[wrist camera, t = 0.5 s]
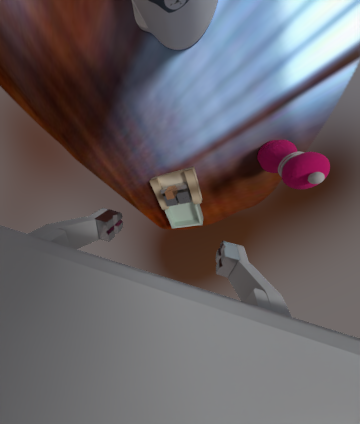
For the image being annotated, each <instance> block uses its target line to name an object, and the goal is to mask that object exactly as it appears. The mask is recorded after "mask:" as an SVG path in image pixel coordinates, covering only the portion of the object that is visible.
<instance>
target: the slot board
mask: <svg viewBox="0 0 360 424" xmlns="http://www.w3.org/2000/svg"><path fill="white" fill-rule="evenodd" d="M186 181H187V183H188V187H187V188H189V190H190V193H191V196H192V200H191V202H193V203H194V204H199V203H201V201H202V196H201V192H200V188H199V184H198V180H197V176H196V172H195V168H194V167H190V168H187V169H183V170H179V171H176V172H172V173H168V174H165V175H161V176H157V177H154V178H152V179H151V180H150V184H151V186H152V188H153V190H154V193H155V195H156V197H157V199H158V201H159V204H160V206H161V208H162V210H165V209H169V207H170V206H168V207H167V204H166V202H165V200H164V197H163V196H164V195H165V193H163V194H161V192H160V190H161V189H162V187H165V186H169V185H174V184H178V183H182V182H186ZM177 191H178V190H177Z"/></svg>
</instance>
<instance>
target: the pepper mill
mask: <svg viewBox="0 0 360 424" xmlns="http://www.w3.org/2000/svg"><path fill="white" fill-rule="evenodd" d="M257 159H258V161H259V163H260V165H261V167H262V168H263V169H264V170H265V171H267V172H271V173H279V175H280V176H281V177H282V180H283V182H284V183H285V184H286V185H288V186H289V187H291V188H294V189H307V188H311V187H313V186H316V185H317V184H319V183H321V182H322V181H323V180H324V179H325V178H326V177H327V175H328V173H329V170H330V163H329V161H328V159H327V158H326V157H325V156H324V155H322V154H319V153H315V152H306V153H304V152H297V148H296V147H295V145H294V144H293V143H292V142H290V141H287V140H273V141H269V142H267V143H265V144H264V145H263V146H262V147H261V148H260V150H259V152H258V155H257Z"/></svg>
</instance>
